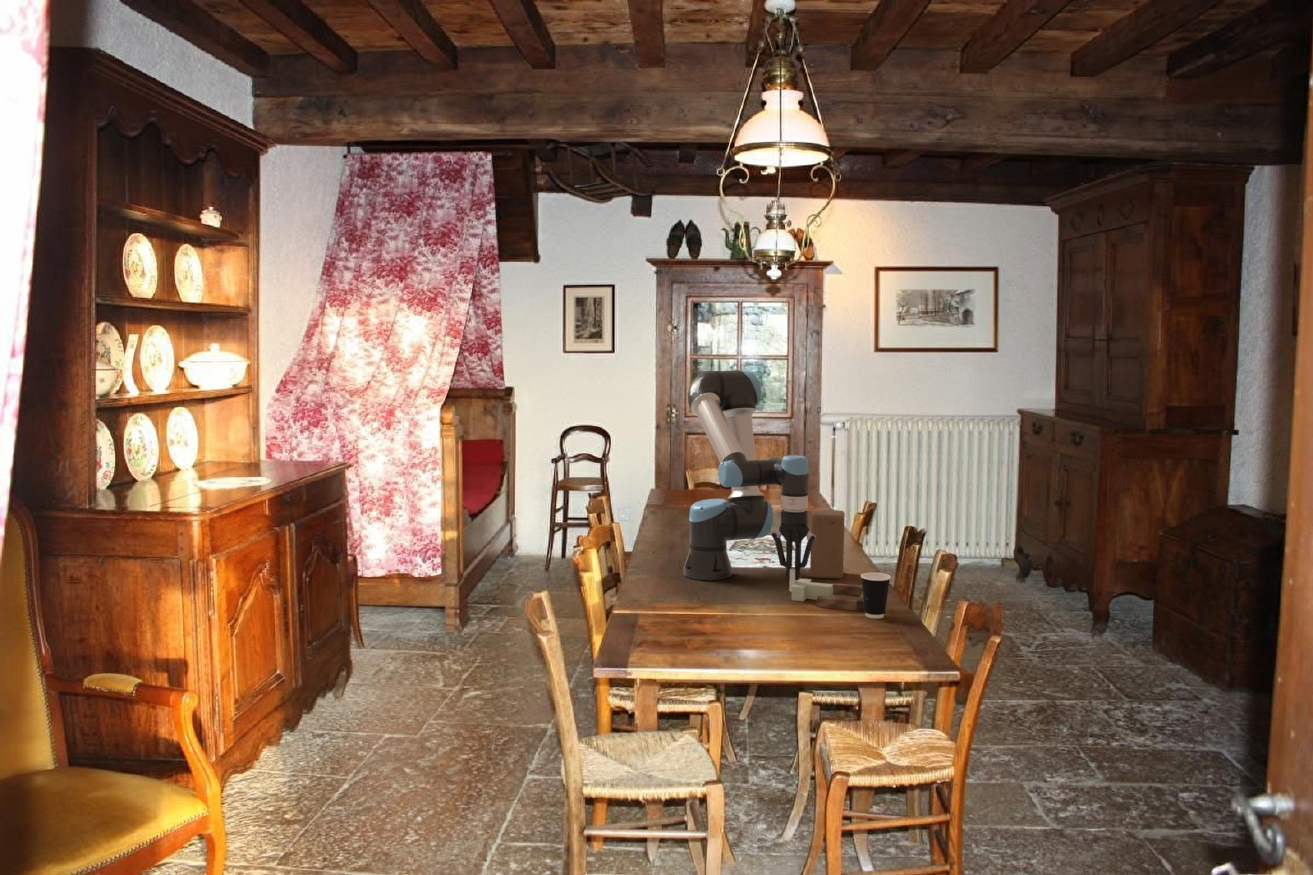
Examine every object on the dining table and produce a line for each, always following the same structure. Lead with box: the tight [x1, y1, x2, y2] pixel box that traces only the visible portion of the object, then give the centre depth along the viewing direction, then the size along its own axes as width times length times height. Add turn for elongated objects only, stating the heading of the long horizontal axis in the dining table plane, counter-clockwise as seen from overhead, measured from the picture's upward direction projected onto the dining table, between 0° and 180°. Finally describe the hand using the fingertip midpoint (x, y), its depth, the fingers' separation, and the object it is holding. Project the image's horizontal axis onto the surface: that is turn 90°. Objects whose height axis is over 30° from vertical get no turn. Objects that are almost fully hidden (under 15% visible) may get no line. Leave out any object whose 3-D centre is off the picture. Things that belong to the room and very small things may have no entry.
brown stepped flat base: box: [816, 582, 865, 612], centre depth 283 cm, size 13×18×2 cm
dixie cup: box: [860, 572, 891, 619], centre depth 268 cm, size 8×8×11 cm
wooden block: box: [809, 509, 846, 580], centre depth 312 cm, size 10×10×20 cm
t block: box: [791, 578, 834, 602], centre depth 286 cm, size 10×10×4 cm
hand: (792, 590), depth 288 cm, fingers closed
